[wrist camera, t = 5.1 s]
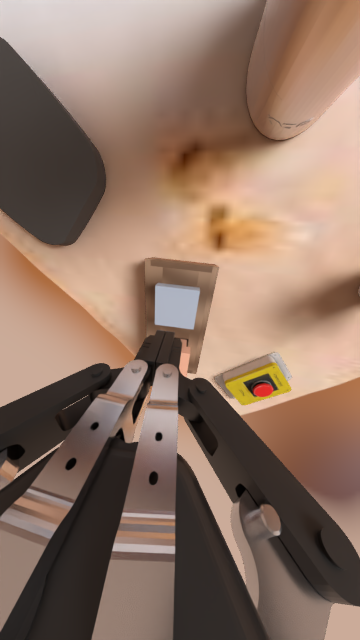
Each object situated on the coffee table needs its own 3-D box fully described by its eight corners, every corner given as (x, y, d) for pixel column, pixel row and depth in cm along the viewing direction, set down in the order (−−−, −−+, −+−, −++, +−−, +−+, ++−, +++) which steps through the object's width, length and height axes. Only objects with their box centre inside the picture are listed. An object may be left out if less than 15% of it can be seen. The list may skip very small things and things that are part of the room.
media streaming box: (118, 173, 18) (106, 160, 16) (69, 256, 23) (54, 256, 21) (5, 34, 14) (-39, -16, 11) (-24, 172, 19) (-58, 159, 17)
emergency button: (305, 394, 27) (235, 414, 32) (291, 376, 31) (230, 397, 36) (289, 364, 24) (214, 392, 30) (276, 348, 28) (212, 375, 33)
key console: (152, 257, 22) (144, 258, 19) (214, 264, 22) (219, 267, 18) (151, 353, 31) (146, 367, 28) (195, 359, 31) (196, 373, 27)
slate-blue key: (162, 279, 21) (155, 285, 17) (198, 283, 21) (200, 290, 17) (161, 312, 24) (154, 324, 20) (193, 316, 23) (193, 329, 20)
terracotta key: (158, 333, 24) (152, 348, 20) (190, 337, 24) (190, 354, 20) (157, 357, 27) (152, 375, 23) (186, 361, 26) (185, 380, 23)
